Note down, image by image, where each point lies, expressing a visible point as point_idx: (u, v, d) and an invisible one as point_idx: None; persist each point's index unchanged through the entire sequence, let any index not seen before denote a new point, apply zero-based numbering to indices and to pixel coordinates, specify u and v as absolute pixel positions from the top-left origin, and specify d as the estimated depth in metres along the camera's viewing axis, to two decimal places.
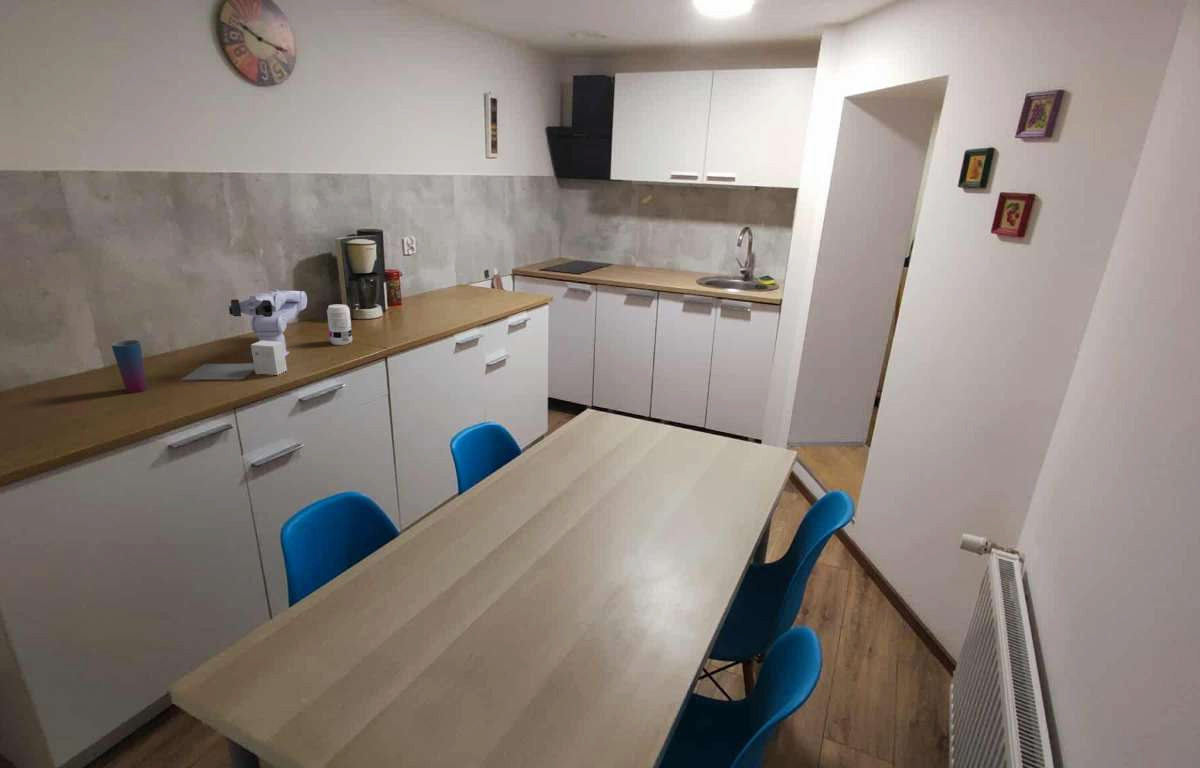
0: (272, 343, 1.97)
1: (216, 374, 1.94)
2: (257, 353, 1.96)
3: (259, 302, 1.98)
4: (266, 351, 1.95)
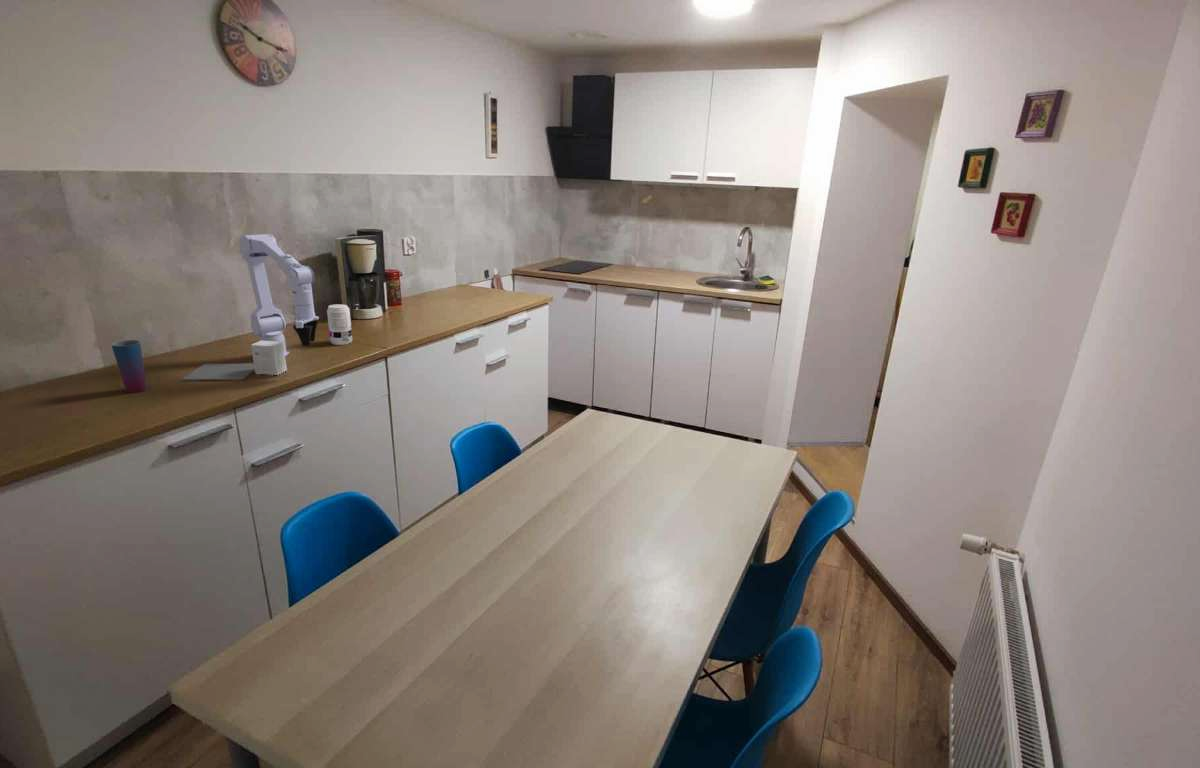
0: (272, 343, 1.97)
1: (216, 374, 1.94)
2: (257, 353, 1.96)
3: None
4: (266, 351, 1.95)
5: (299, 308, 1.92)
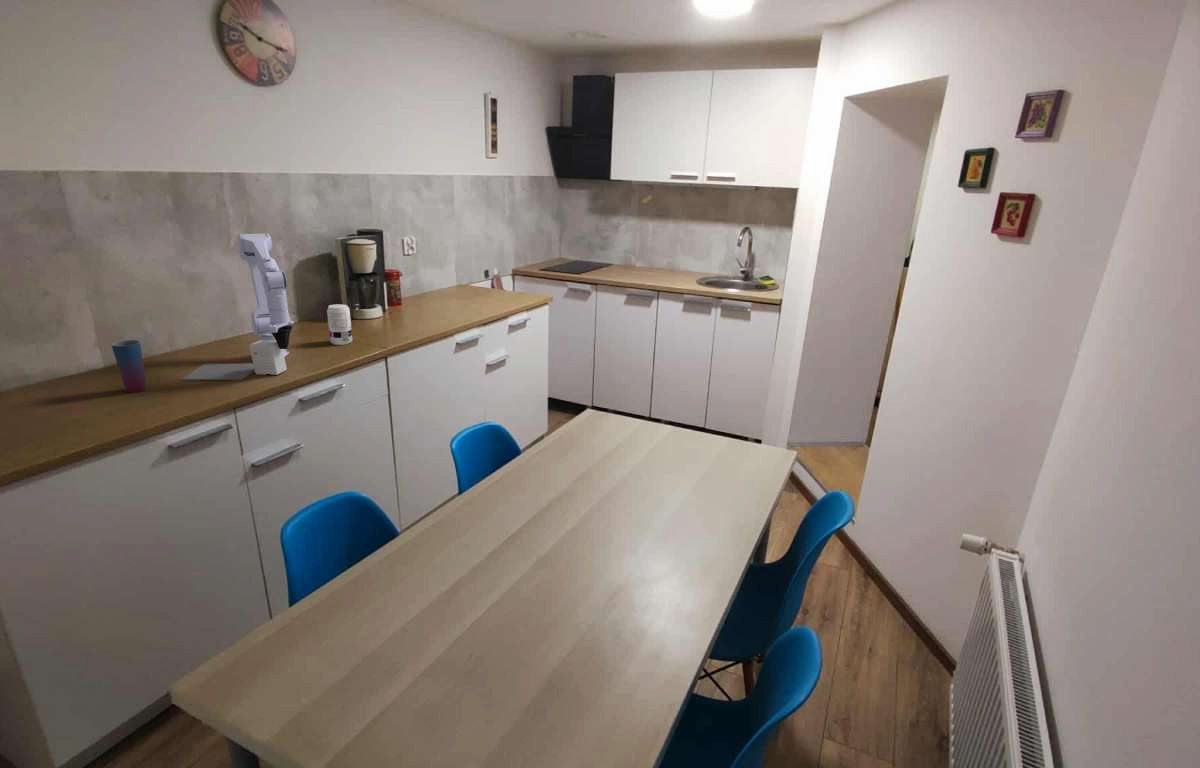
0: (270, 342, 1.97)
1: (216, 374, 1.94)
2: (255, 352, 1.96)
3: None
4: (265, 350, 1.95)
5: (273, 313, 1.92)
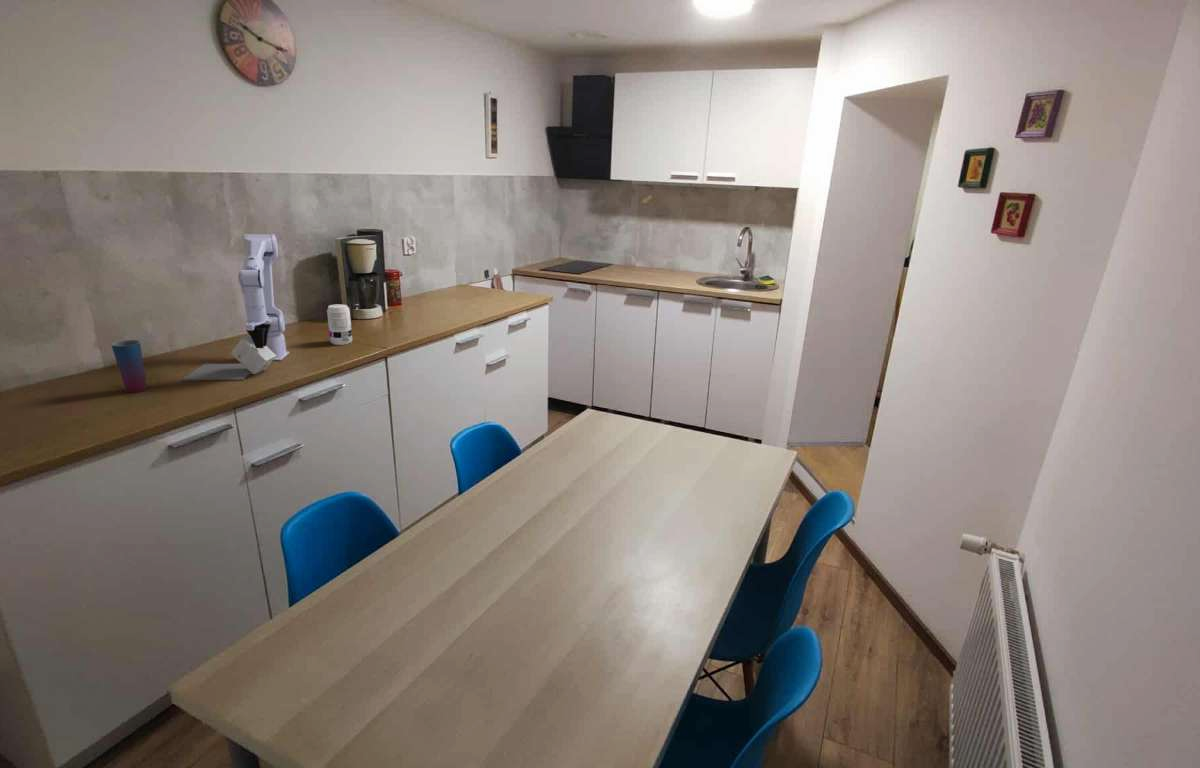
0: None
1: (216, 374, 1.94)
2: (239, 355, 1.96)
3: None
4: (242, 346, 1.95)
5: (250, 311, 1.90)
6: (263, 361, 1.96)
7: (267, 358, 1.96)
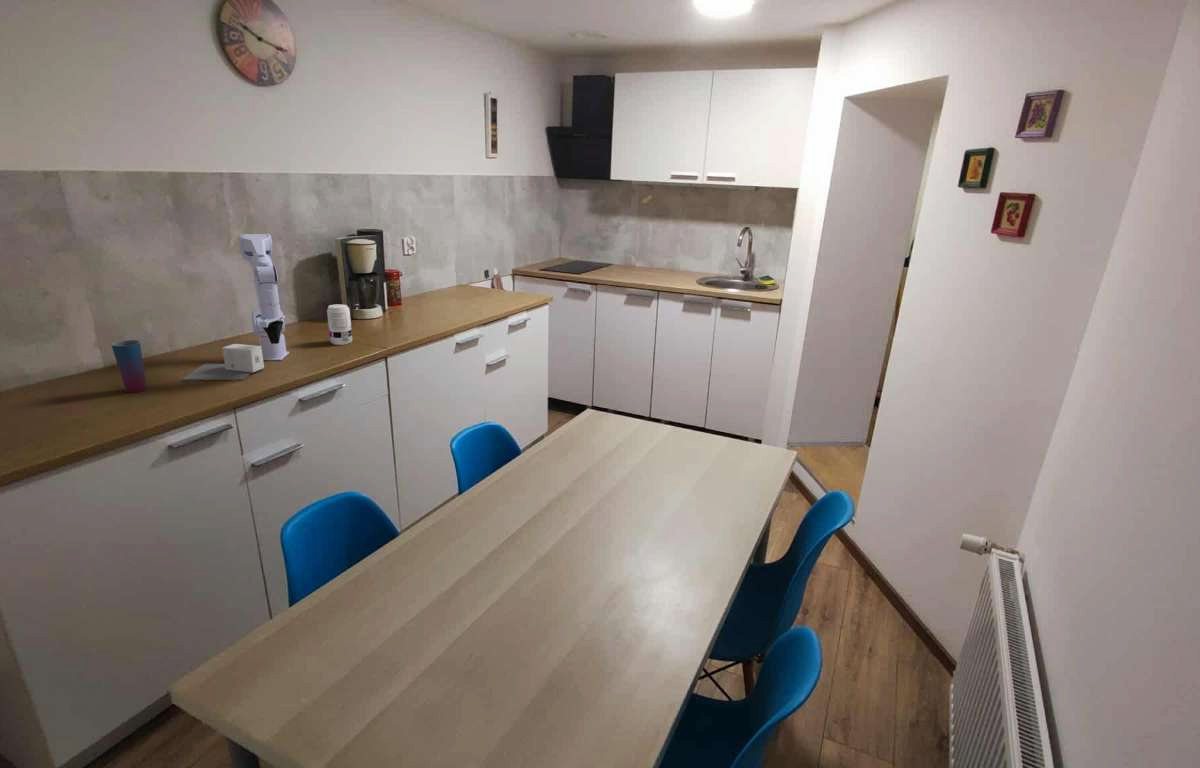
0: None
1: (216, 374, 1.94)
2: (232, 365, 1.98)
3: None
4: (227, 355, 1.97)
5: (264, 307, 1.91)
6: (249, 352, 1.95)
7: (251, 349, 1.96)
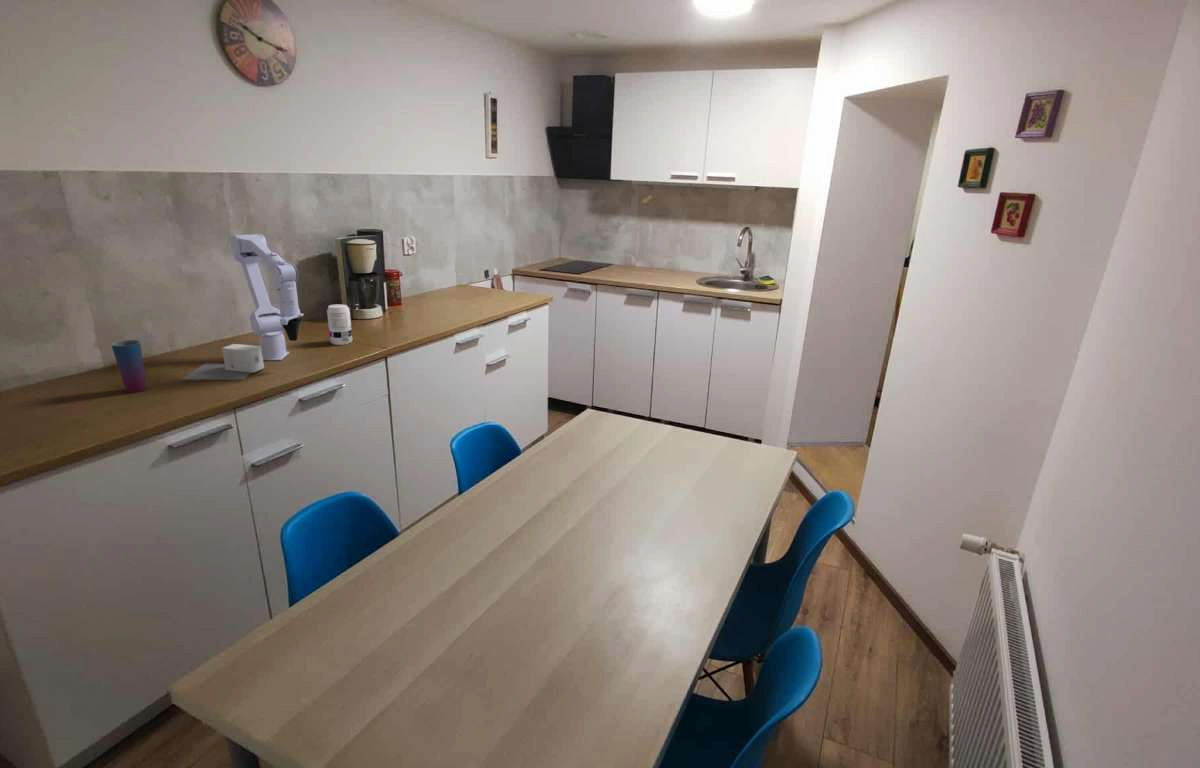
0: None
1: (216, 374, 1.94)
2: (231, 365, 1.98)
3: None
4: (227, 355, 1.97)
5: (283, 305, 1.95)
6: (249, 353, 1.95)
7: (251, 349, 1.96)
